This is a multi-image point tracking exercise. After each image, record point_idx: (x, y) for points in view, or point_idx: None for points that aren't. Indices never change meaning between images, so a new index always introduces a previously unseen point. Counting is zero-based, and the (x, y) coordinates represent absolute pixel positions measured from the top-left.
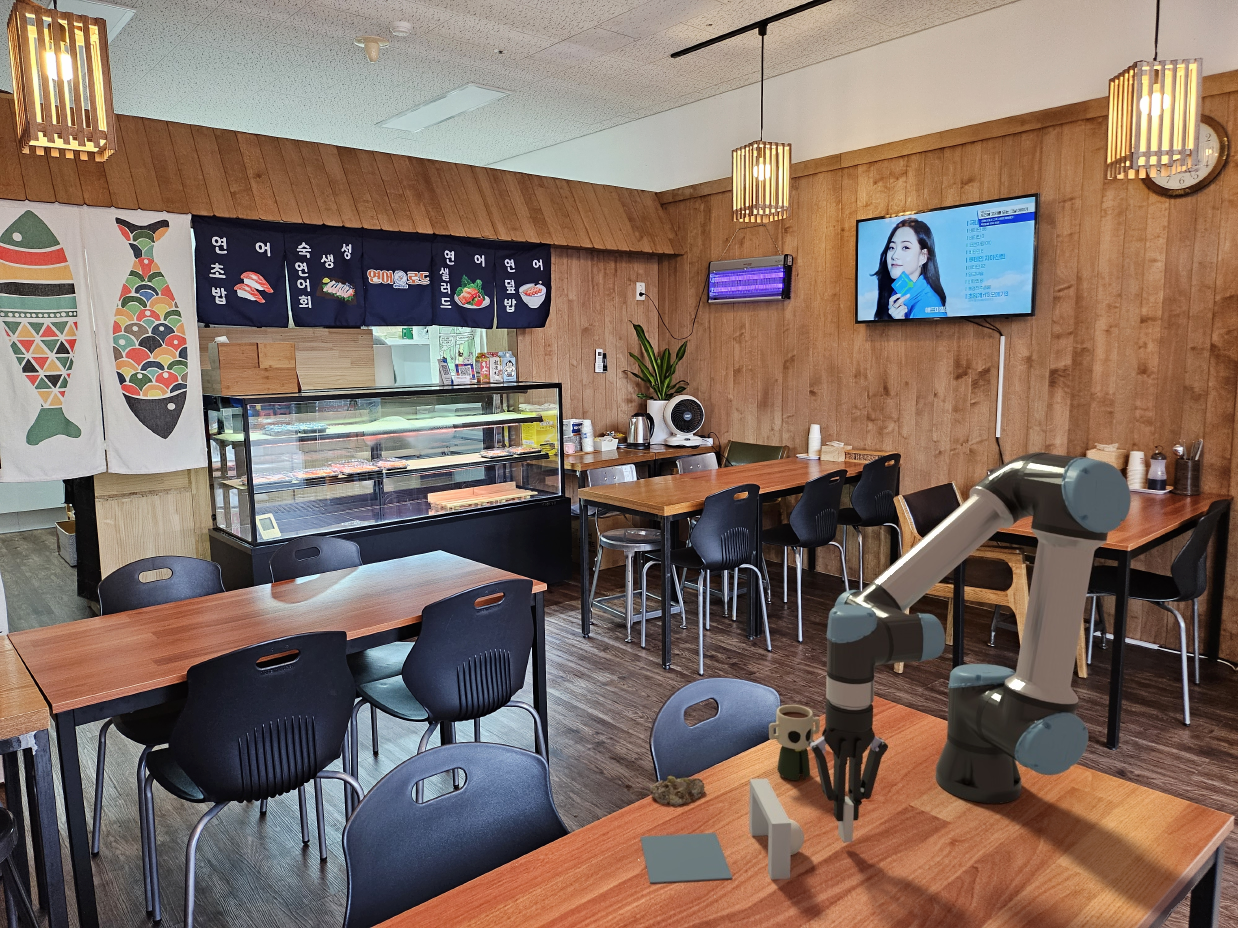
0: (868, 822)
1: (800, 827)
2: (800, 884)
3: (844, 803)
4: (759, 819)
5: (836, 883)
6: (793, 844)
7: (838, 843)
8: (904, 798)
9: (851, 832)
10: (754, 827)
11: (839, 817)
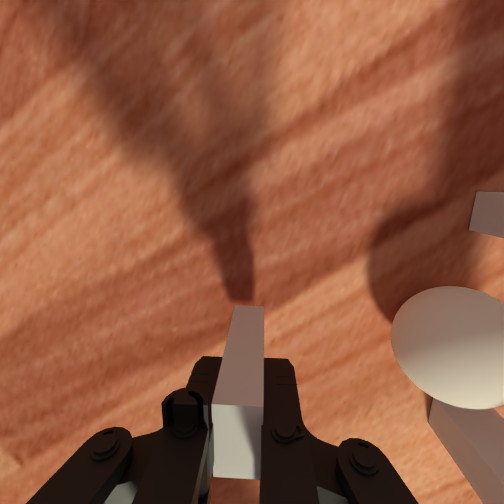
0: (145, 412)
1: (431, 356)
2: (459, 156)
3: (258, 420)
4: (499, 439)
5: (345, 149)
6: (462, 292)
7: None
8: (26, 488)
9: (236, 321)
10: (494, 417)
11: (279, 369)
